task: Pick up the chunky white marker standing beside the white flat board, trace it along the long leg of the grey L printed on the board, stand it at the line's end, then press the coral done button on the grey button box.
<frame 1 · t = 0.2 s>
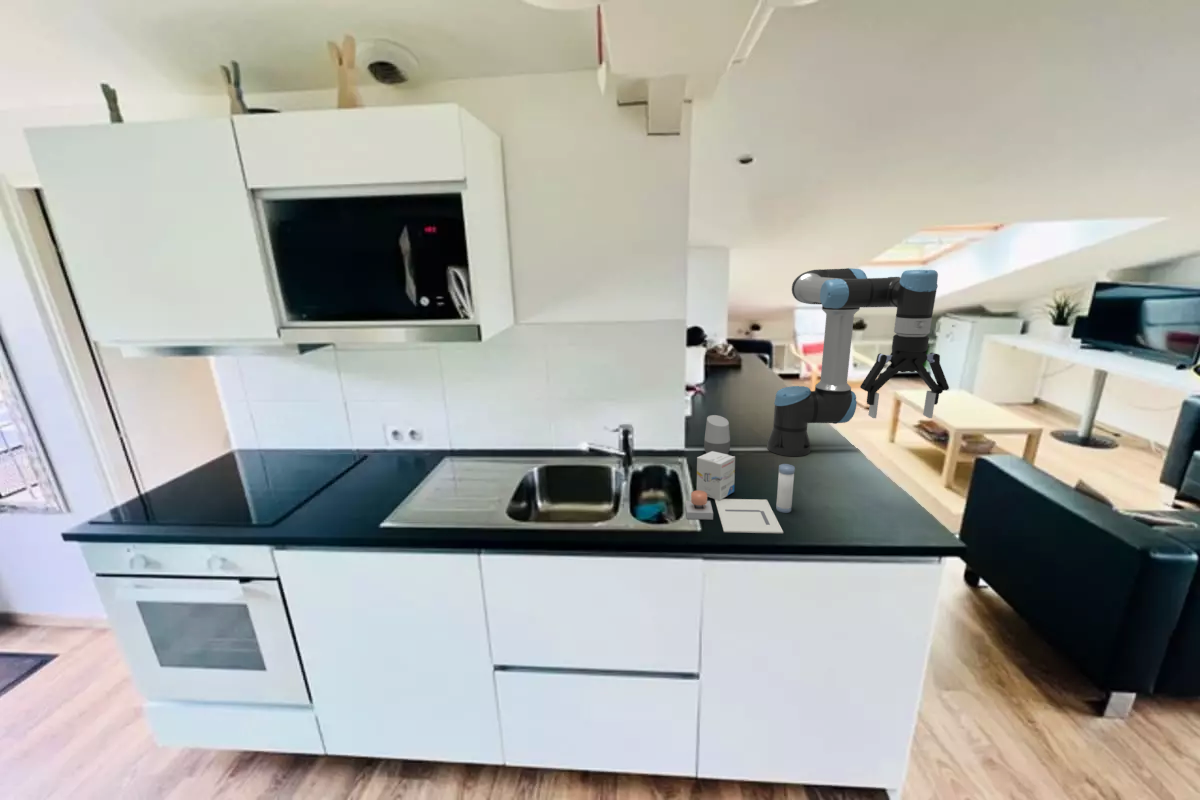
hand: (899, 416, 125), 28 cm above the table, fingers open, 13 cm apart
button box: (698, 512, 137), on the table
marker: (783, 509, 137), on the table
done button: (699, 500, 136), point 4 cm above the table, slide at 0.0 cm
smart speaker: (716, 454, 179), on the table
ink box: (715, 493, 148), on the table, touching white flat board
white flat board: (746, 515, 134), on the table
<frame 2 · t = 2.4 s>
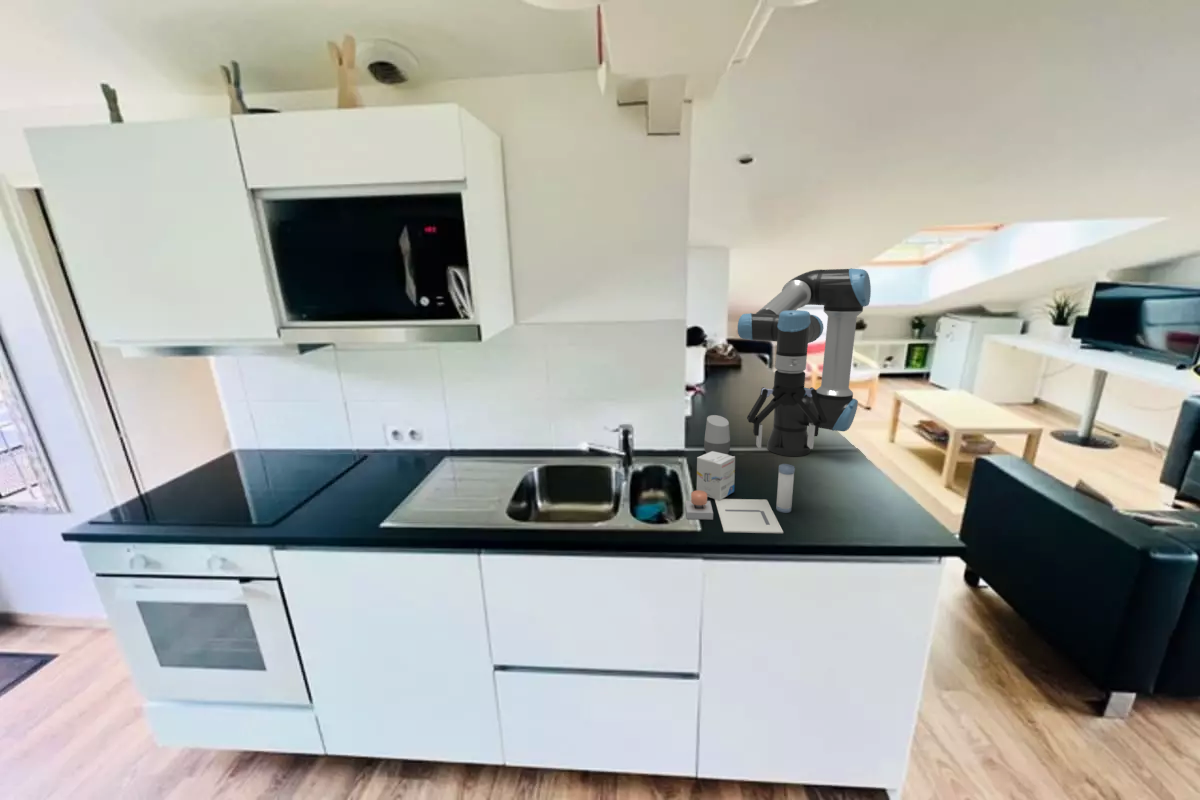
hand: (784, 447, 132), 19 cm above the table, fingers open, 13 cm apart
nothing on the table moved.
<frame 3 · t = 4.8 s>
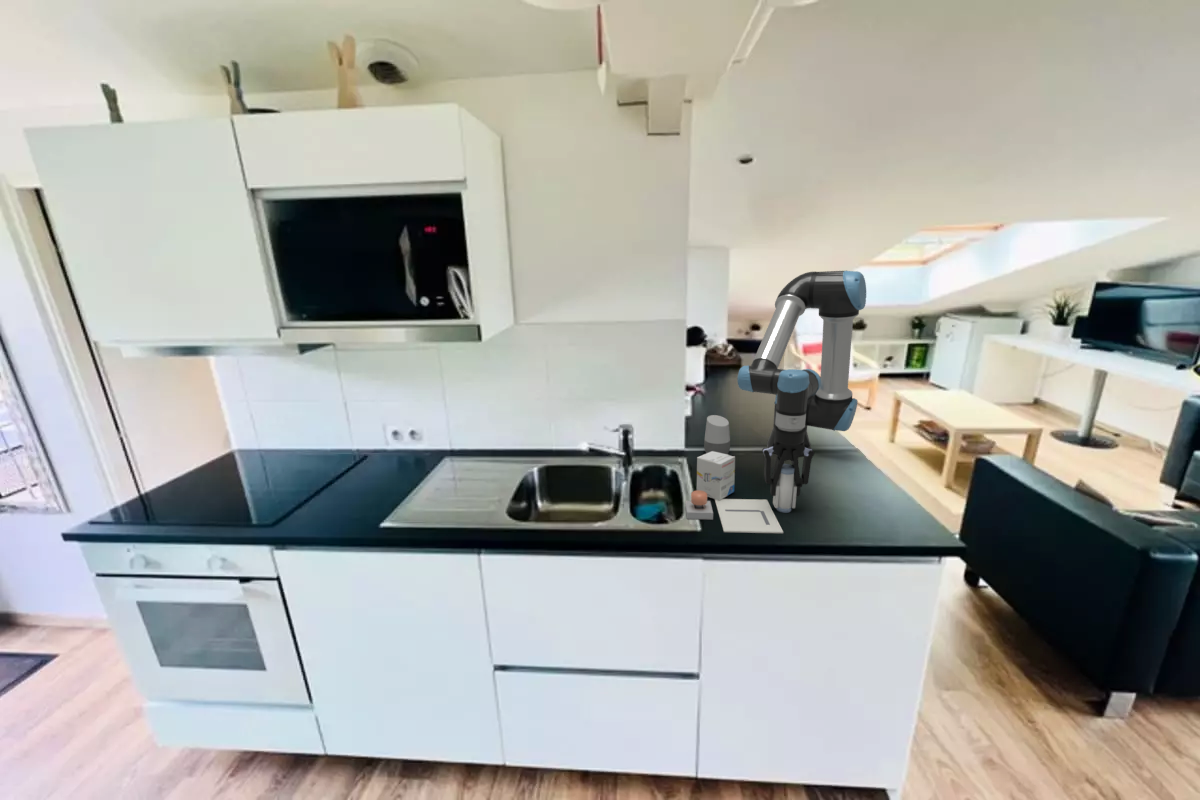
hand: (783, 505, 137), 1 cm above the table, fingers closed on marker, 4 cm apart
marker: (783, 509, 137), on the table, touching gripper
everything else where it was.
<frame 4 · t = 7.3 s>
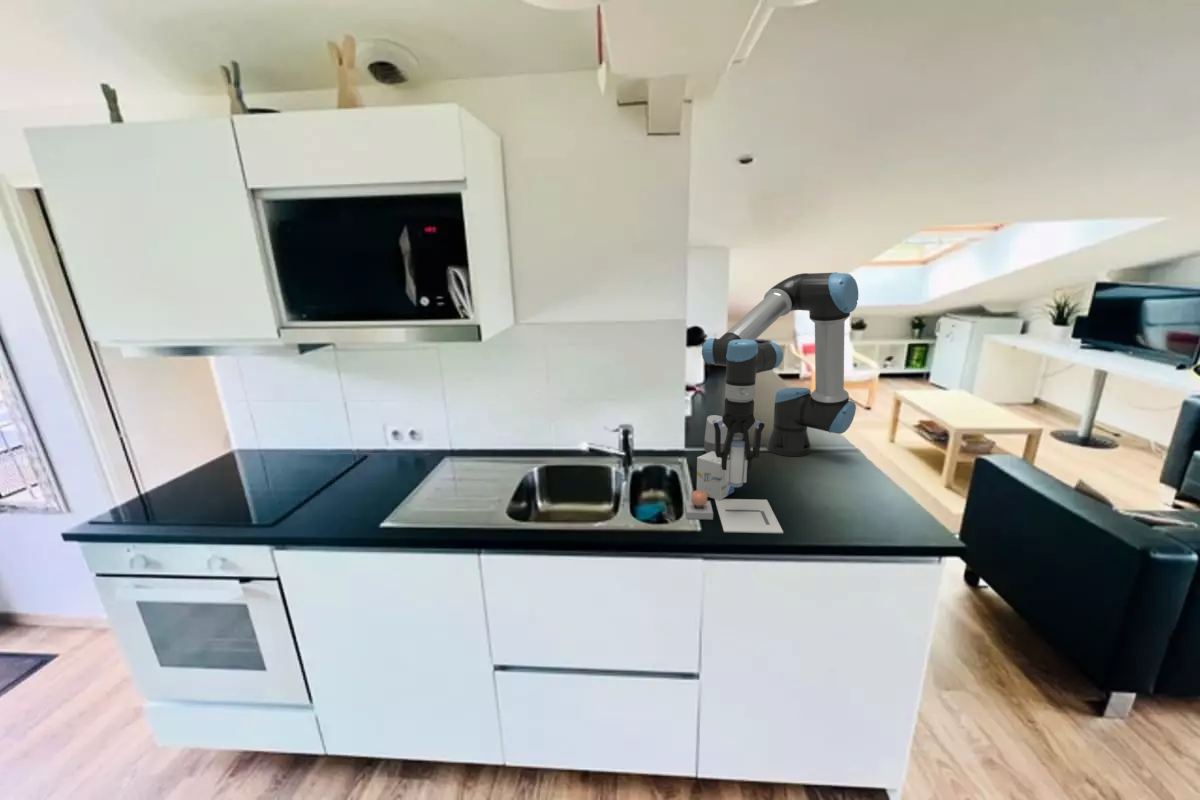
hand: (735, 480, 134), 10 cm above the table, fingers closed on marker, 4 cm apart
marker: (735, 484, 134), point 9 cm above the table, touching gripper
everything else where it was.
when the fingers open (3 cm above the table, at t = 9.7 s): marker drops 1 cm, resting on white flat board.
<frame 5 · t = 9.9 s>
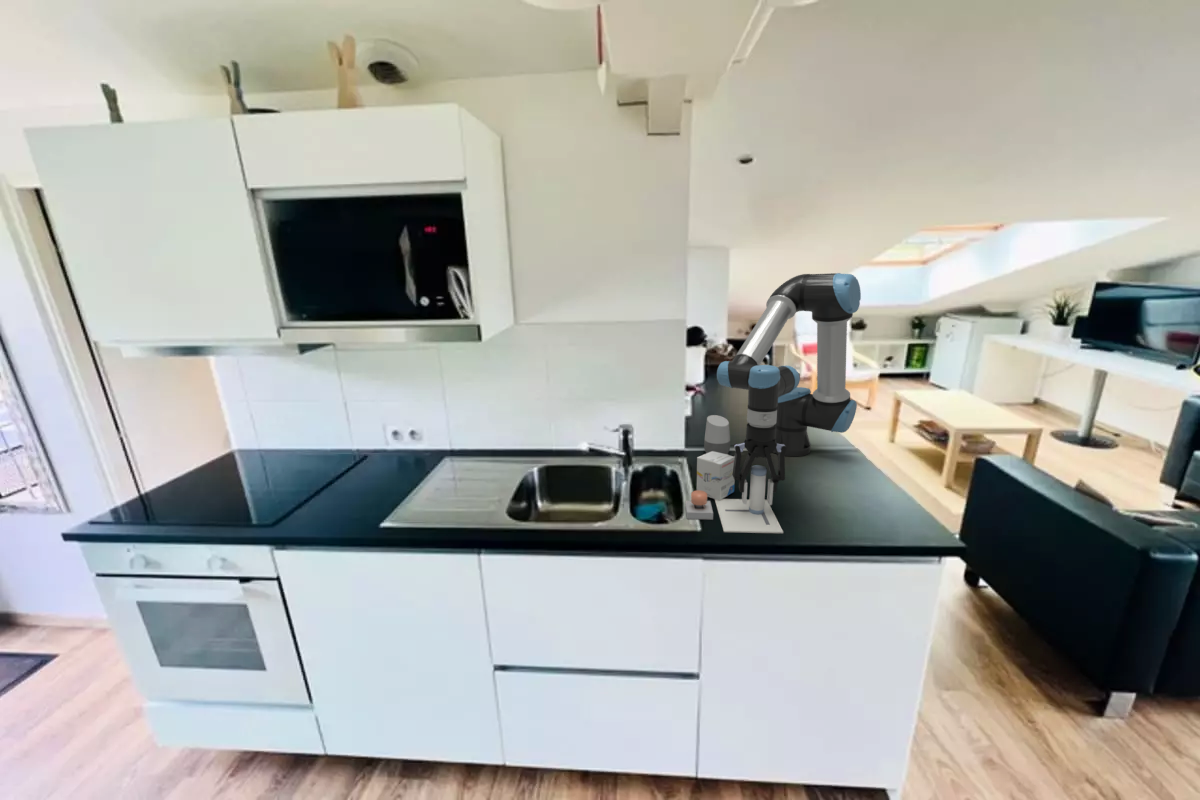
hand: (756, 502, 135), 3 cm above the table, fingers open, 6 cm apart
marker: (756, 510, 136), resting on white flat board
everything else where it was.
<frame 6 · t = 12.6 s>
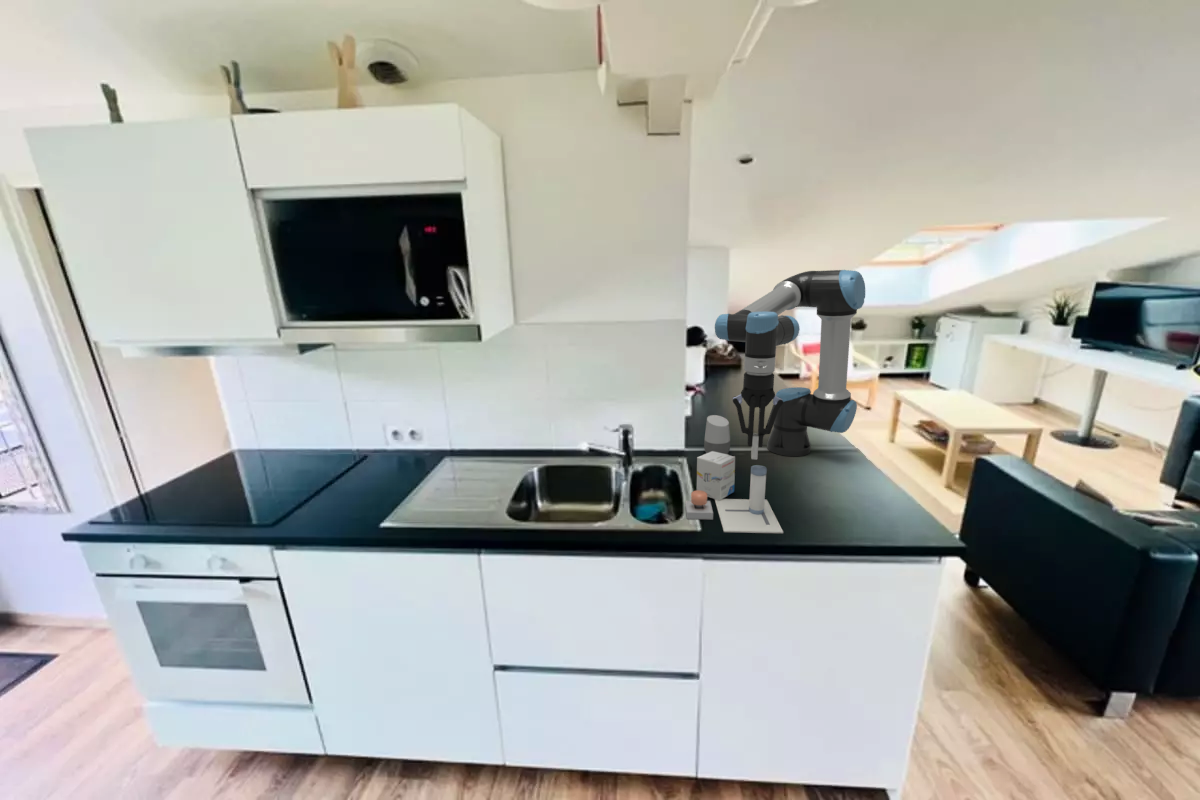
hand: (754, 457, 132), 17 cm above the table, fingers closed
nothing on the table moved.
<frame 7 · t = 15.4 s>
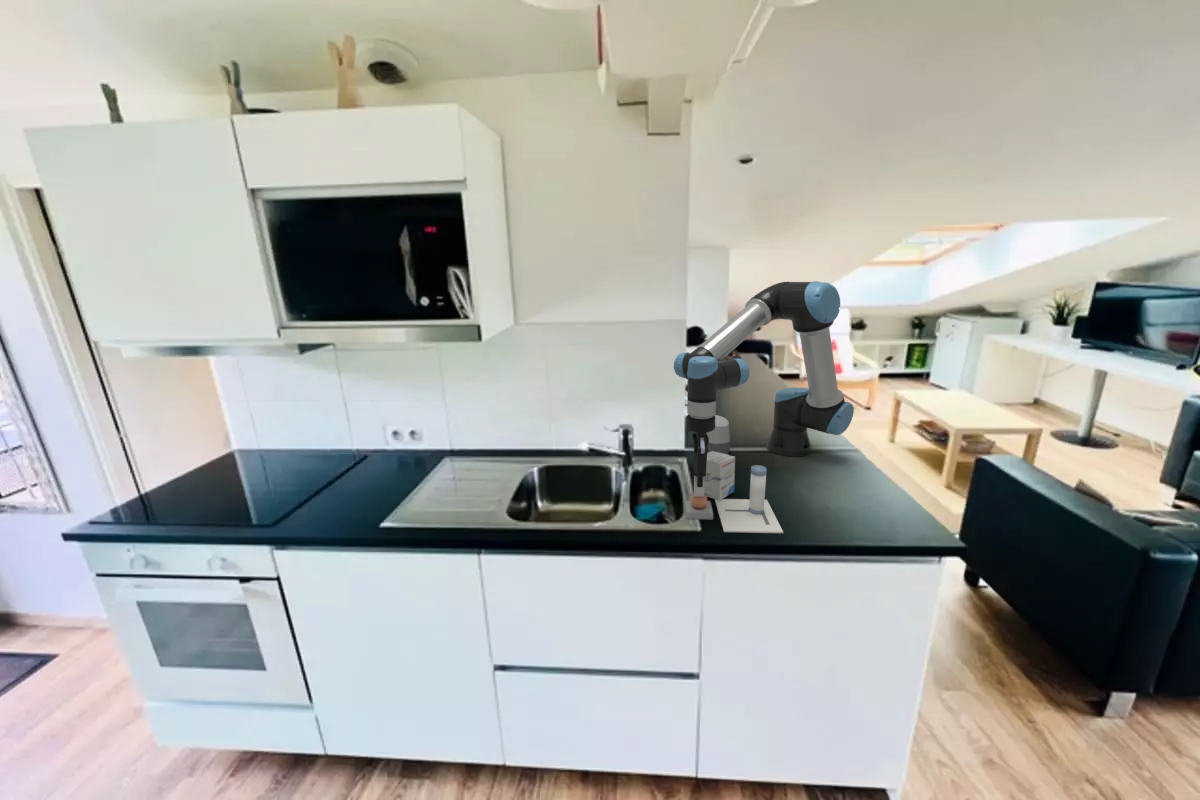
hand: (698, 495, 135), 5 cm above the table, fingers closed
done button: (698, 503, 136), point 3 cm above the table, slide at 0.7 cm, touching gripper
everything else where it was.
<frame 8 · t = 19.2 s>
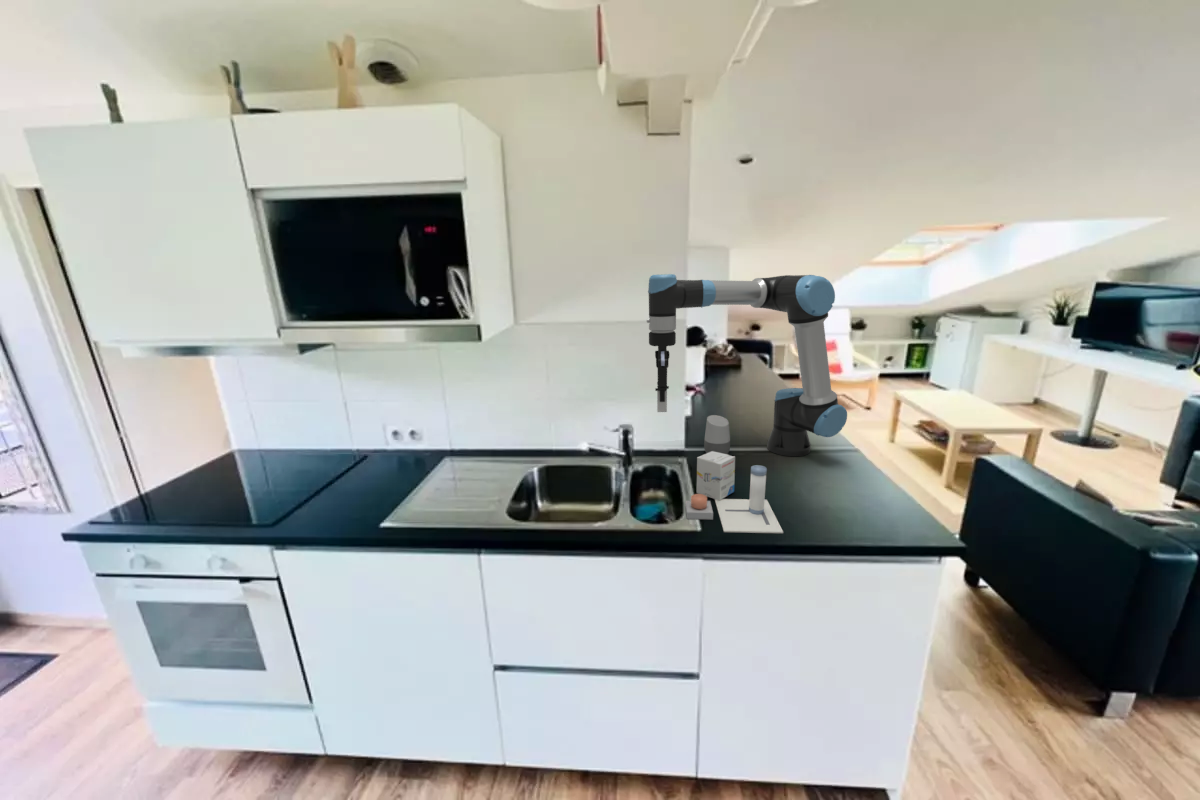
hand: (662, 411, 142), 26 cm above the table, fingers closed
done button: (698, 504, 136), point 3 cm above the table, slide at 1.1 cm
everything else where it was.
at the end: marker inside the target area (0.5 cm from its centre), resting on white flat board; marker tilted 0°; done button slide at 1.1 cm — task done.
